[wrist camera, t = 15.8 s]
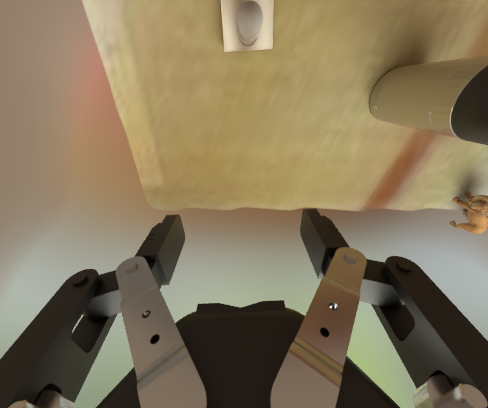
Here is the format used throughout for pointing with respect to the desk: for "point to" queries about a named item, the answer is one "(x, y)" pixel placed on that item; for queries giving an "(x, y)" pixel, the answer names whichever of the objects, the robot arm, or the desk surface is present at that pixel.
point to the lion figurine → (474, 213)
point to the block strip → (233, 25)
